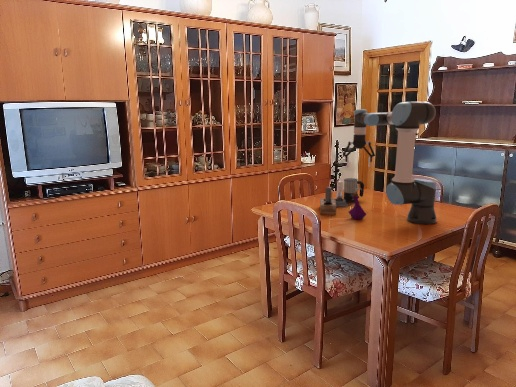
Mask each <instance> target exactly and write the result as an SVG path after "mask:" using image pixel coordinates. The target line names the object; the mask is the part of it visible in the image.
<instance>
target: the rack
mask: <svg viewBox="0 0 516 387" xmlns="http://www.w3.org/2000/svg"><path fill="white" fill-rule="evenodd" d="M335 199H336V198H331V205H325V197H323V198H321V197H320V198H319V207H320V208H319V212H320V215H329V216H330V215H333V216H334V215H337V207H336V203H335Z"/></svg>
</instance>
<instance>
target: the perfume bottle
mask: <svg viewBox="0 0 516 387" xmlns="http://www.w3.org/2000/svg"><path fill="white" fill-rule="evenodd" d="M360 189H361V188H360V187H358V188H356V191H357V193H356V192H355V193H353V196H352V198H354V200H355V202H354V206H353V207H352V208H351V209H350V210H349V211H348V214H349V216H350V217H351V218H352V219H353V220H355V221H357V220H359V221H360V220H363V219H364V217H366V216H367V213H366V211H365V210H364V209H363V208H362V206H361V204H360V201H359V199H360V195H359V193H358V191H359V190H360ZM361 191H362V189H361Z"/></svg>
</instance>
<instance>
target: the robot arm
mask: <svg viewBox="0 0 516 387" xmlns="http://www.w3.org/2000/svg"><path fill="white" fill-rule="evenodd" d="M436 114H437V110H436V107H435V106H434V105H433V103H431V102H428V101H403V102H402V101H401V102H399V103H397V104H396V105H395V106H394V107H393V109H392V111H388V112H368V110H367V109H364V108H362V109H361V108H359V109H355V110H354V114H353V116H354V117H353V119H354V120H353V121H354V122H353V139H352V141H348V143H347V146H346V148H345V149H344V151H343V153H342V156H343V157H345V163H346V167H347V168H349V158H350V157H349V155H350V154H351V153H352V152H353V151H354V150H355V149H357V150H362V149H363V150H364V151H365V152H366V154H368V156H369V157H368V161H367V162H368V168H371V167H370V166H371V163H372V162H373V157H375V156H376V154H375V152H374V149H373V147H372V144H371V141H370V140H369V141H367V140H366V136H367V135H366V133H367V127H374V126H393V125H394V126H395V130H396V131H397V144H396V156H395V169H394V171H395V172H394V176H393V177H392V178H391V182H390V183H389V184H387V186H386V187H385V188H386V189H385V193H386V197H387V199H388V201H389V203H390V204H392V205H395V206H398V205H400V206H401V205H410V204H411V206H410V209H409V211H408V213H407V215H406V220H407V221H408V222H411V223H413V224H419V225H432V224H436V223H437V214H436V209H435V201H436V200H435V199H436V198H435V197H436V190H437V189H436V186H437V185H436V182H435V181H434V180H429V179H425V178H413V168H414V167H413V166H414V159H415V158H414V155H415V146H416V145H415V144H416V133H417V132H418V131H419V129H420V125H427V124H429V123H431V122H432V121H433V120H434V119H435V117H436ZM366 145H367V146H368V148H369V149H370V152H371V153H370V152H369V150H368V149H367V147H366ZM351 146H353V147H352V148H350V147H351ZM349 148H350V149H349ZM348 150H349V151H348Z"/></svg>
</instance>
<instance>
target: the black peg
mask: <svg viewBox="0 0 516 387" xmlns="http://www.w3.org/2000/svg"><path fill="white" fill-rule="evenodd" d="M324 188H325V189H324V190H325V196H324V198H325V205H331V199H332V191H333V190H332V189H333V188H332V186H326V187H324Z"/></svg>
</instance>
